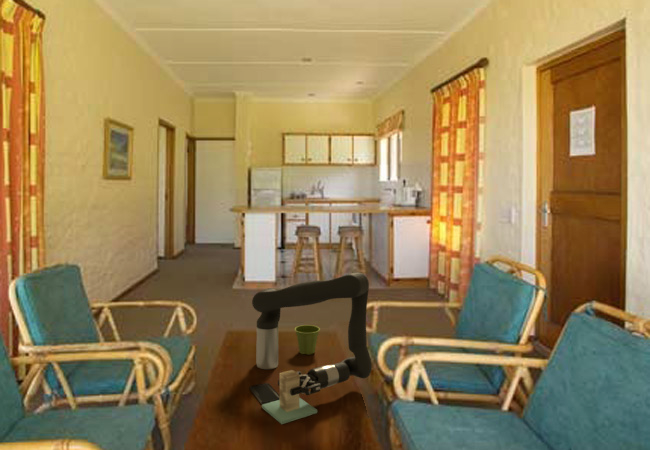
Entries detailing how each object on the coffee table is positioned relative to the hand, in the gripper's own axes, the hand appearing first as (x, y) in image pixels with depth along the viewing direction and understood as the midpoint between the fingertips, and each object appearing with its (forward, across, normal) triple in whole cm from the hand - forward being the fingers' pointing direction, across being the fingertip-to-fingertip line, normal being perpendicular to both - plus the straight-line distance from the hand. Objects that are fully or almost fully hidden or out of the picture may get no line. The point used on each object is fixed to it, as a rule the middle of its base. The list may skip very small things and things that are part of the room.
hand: (284, 387), depth 162 cm
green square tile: (-2, 0, +8) cm, 9 cm away
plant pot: (-38, -44, +9) cm, 59 cm away
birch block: (-2, 0, +8) cm, 8 cm away
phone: (-1, -16, +9) cm, 18 cm away
